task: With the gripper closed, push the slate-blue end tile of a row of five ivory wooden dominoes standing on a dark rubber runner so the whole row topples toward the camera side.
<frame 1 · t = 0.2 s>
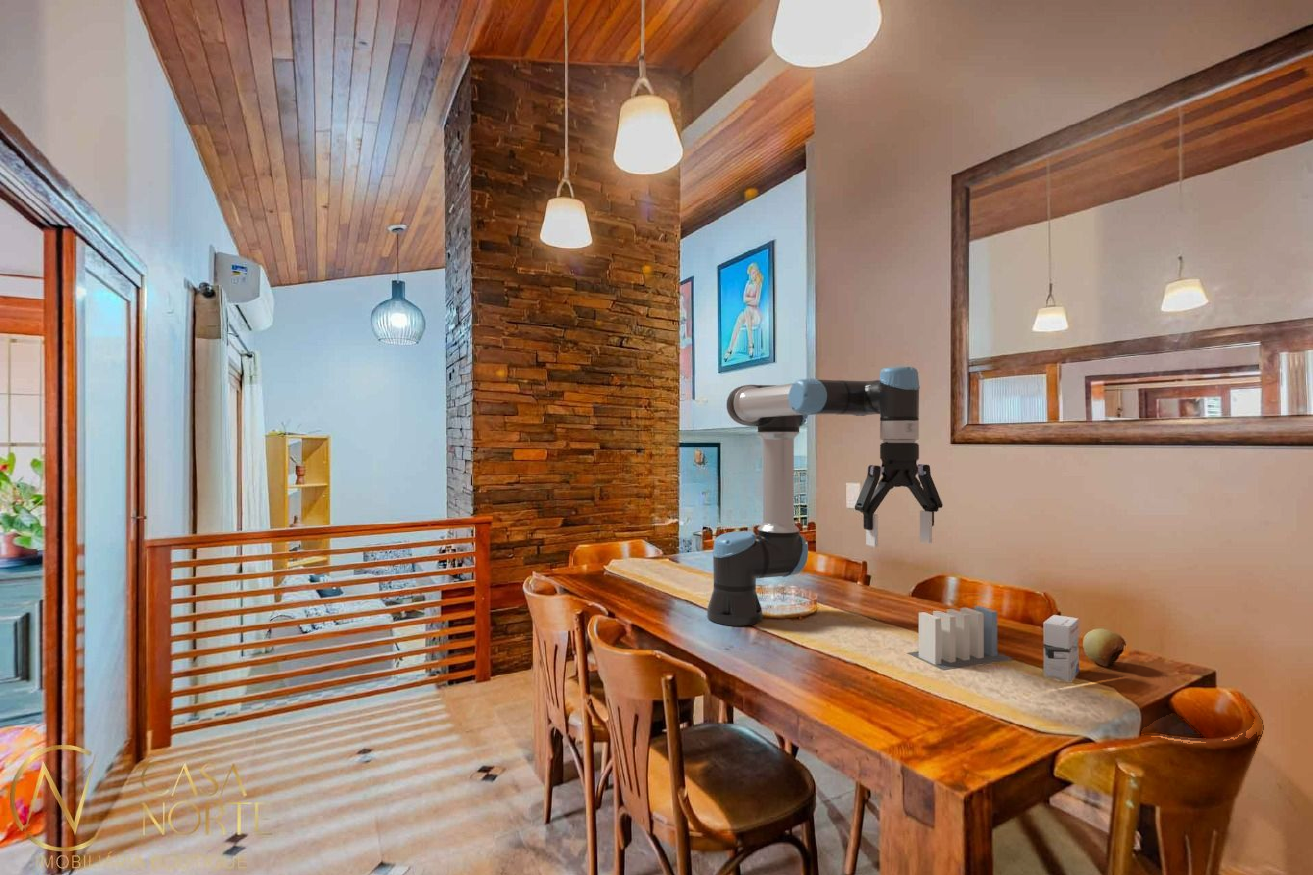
hand: (899, 544, 127), 28 cm above the table, fingers open, 13 cm apart
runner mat: (959, 657, 139), on the table
domino 4: (944, 658, 137), resting on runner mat
domino 1: (985, 652, 141), resting on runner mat
domino 3: (958, 656, 138), resting on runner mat
domino 2: (971, 654, 140), resting on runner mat
fruit: (1103, 667, 134), on the table
ink box: (1061, 676, 128), on the table
domino 5: (929, 660, 136), resting on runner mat
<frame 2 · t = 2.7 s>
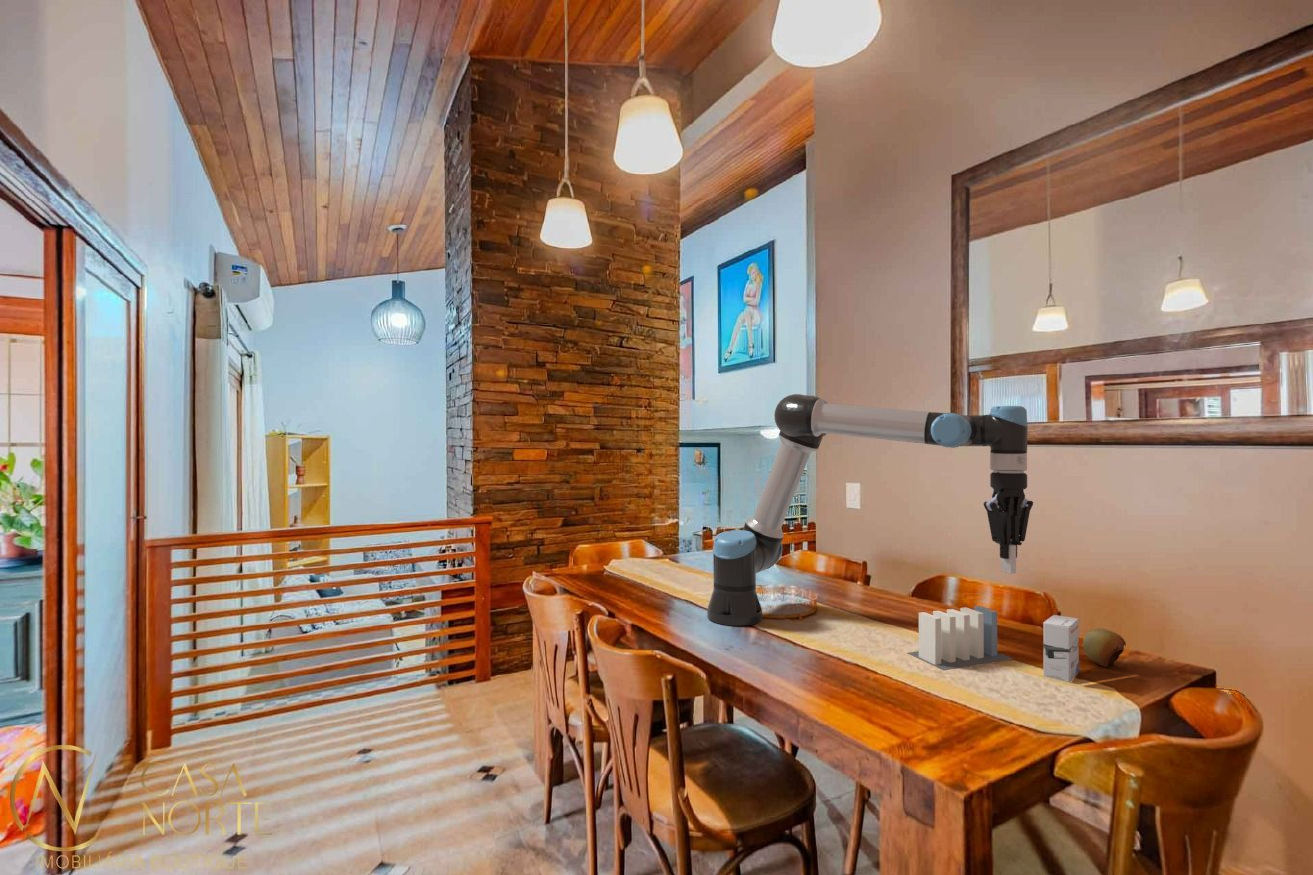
hand: (1008, 572, 143), 18 cm above the table, fingers closed
nothing on the table moved.
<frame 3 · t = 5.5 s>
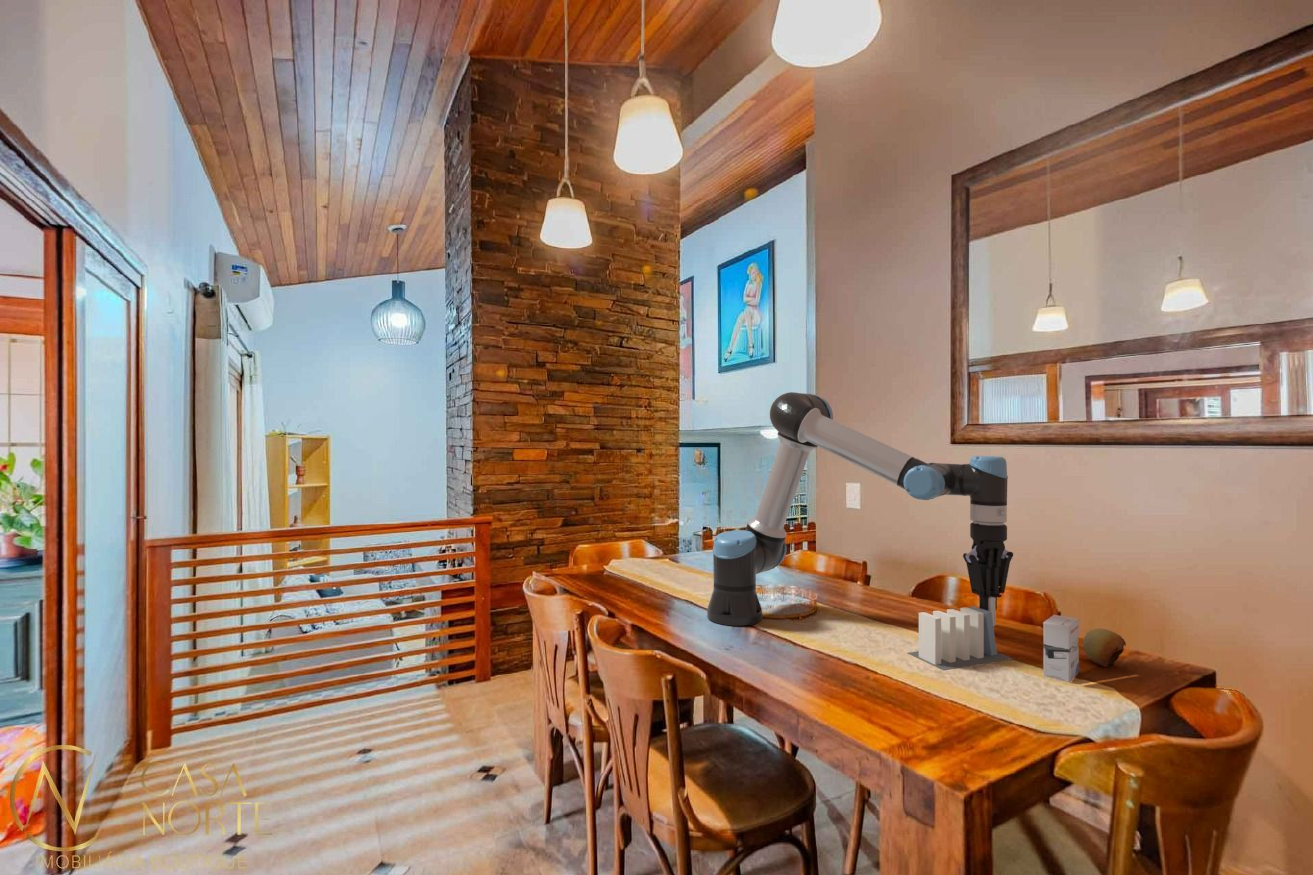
hand: (988, 624, 141), 7 cm above the table, fingers closed
domino 1: (985, 651, 141), point 1 cm above the table, tilted 10°, touching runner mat
everything else where it was.
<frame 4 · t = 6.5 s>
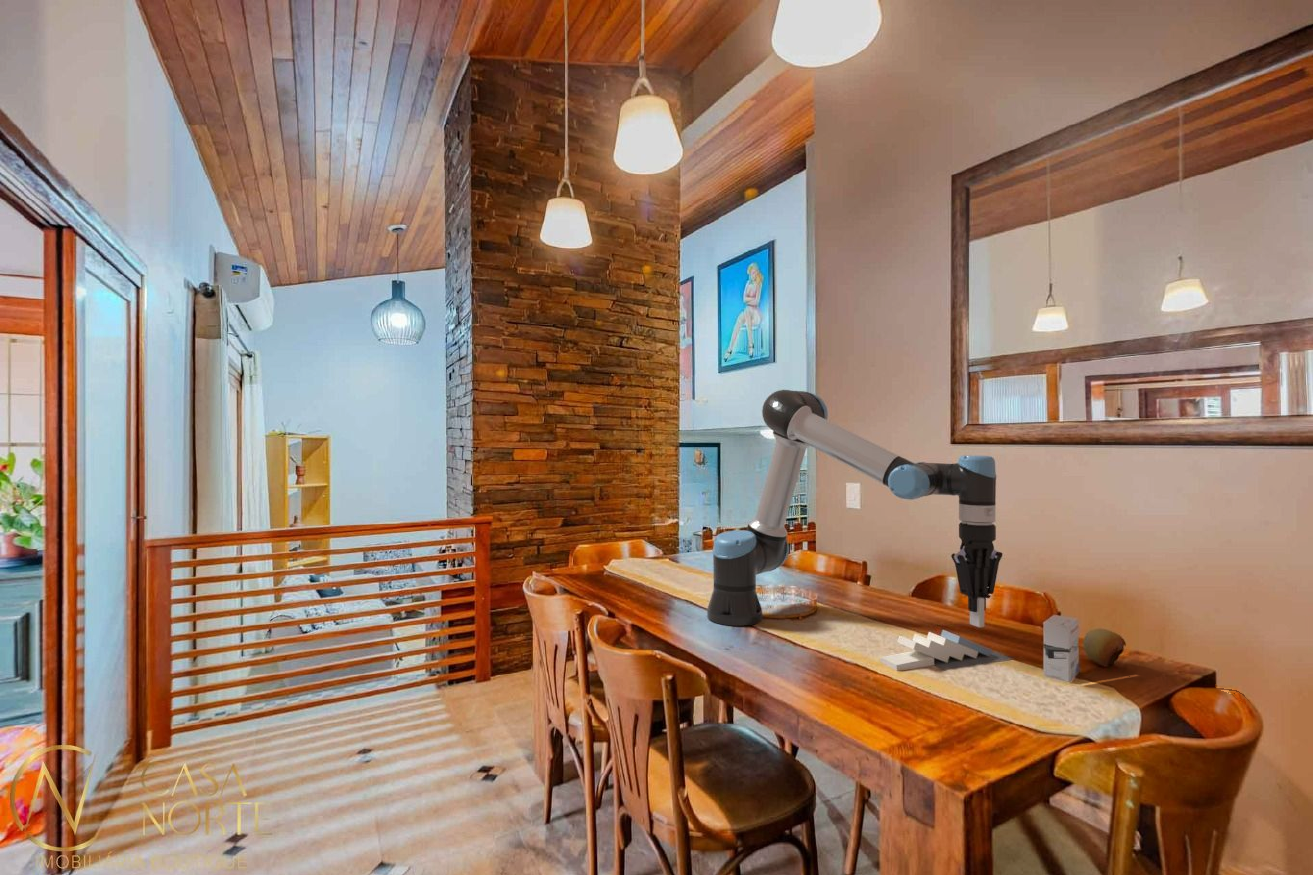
hand: (977, 625, 140), 7 cm above the table, fingers closed
domino 4: (939, 655, 137), point 1 cm above the table, tilted 67°, touching domino 3, domino 5
domino 1: (981, 649, 141), point 1 cm above the table, tilted 67°, touching domino 2
domino 3: (954, 653, 138), point 1 cm above the table, tilted 67°, touching domino 2, domino 4, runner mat
domino 2: (968, 651, 139), point 1 cm above the table, tilted 67°, touching domino 1, domino 3, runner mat
domino 5: (925, 657, 135), point 1 cm above the table, tilted 92°, touching domino 4, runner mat
everything else where it was.
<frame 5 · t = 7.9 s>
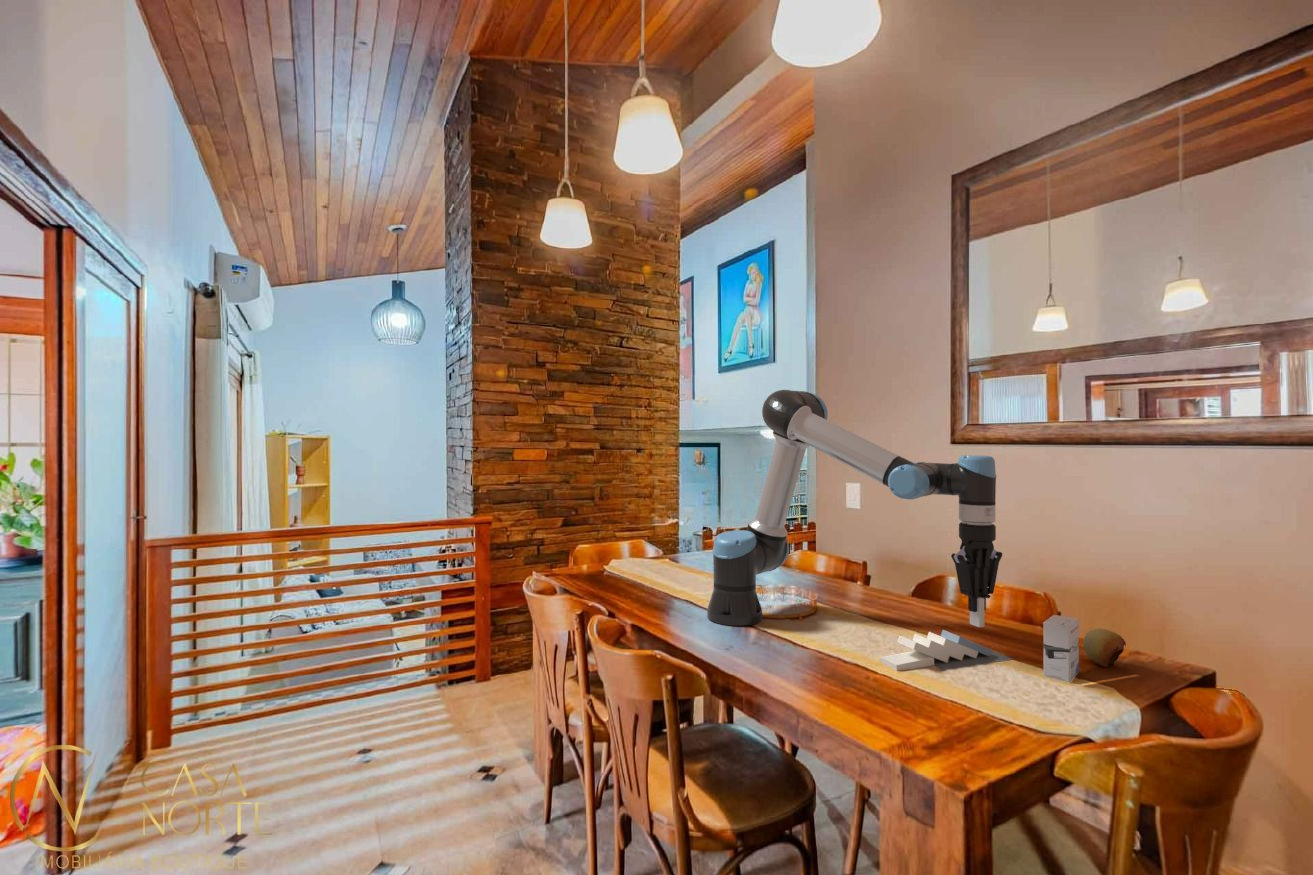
hand: (977, 625, 140), 7 cm above the table, fingers closed
nothing on the table moved.
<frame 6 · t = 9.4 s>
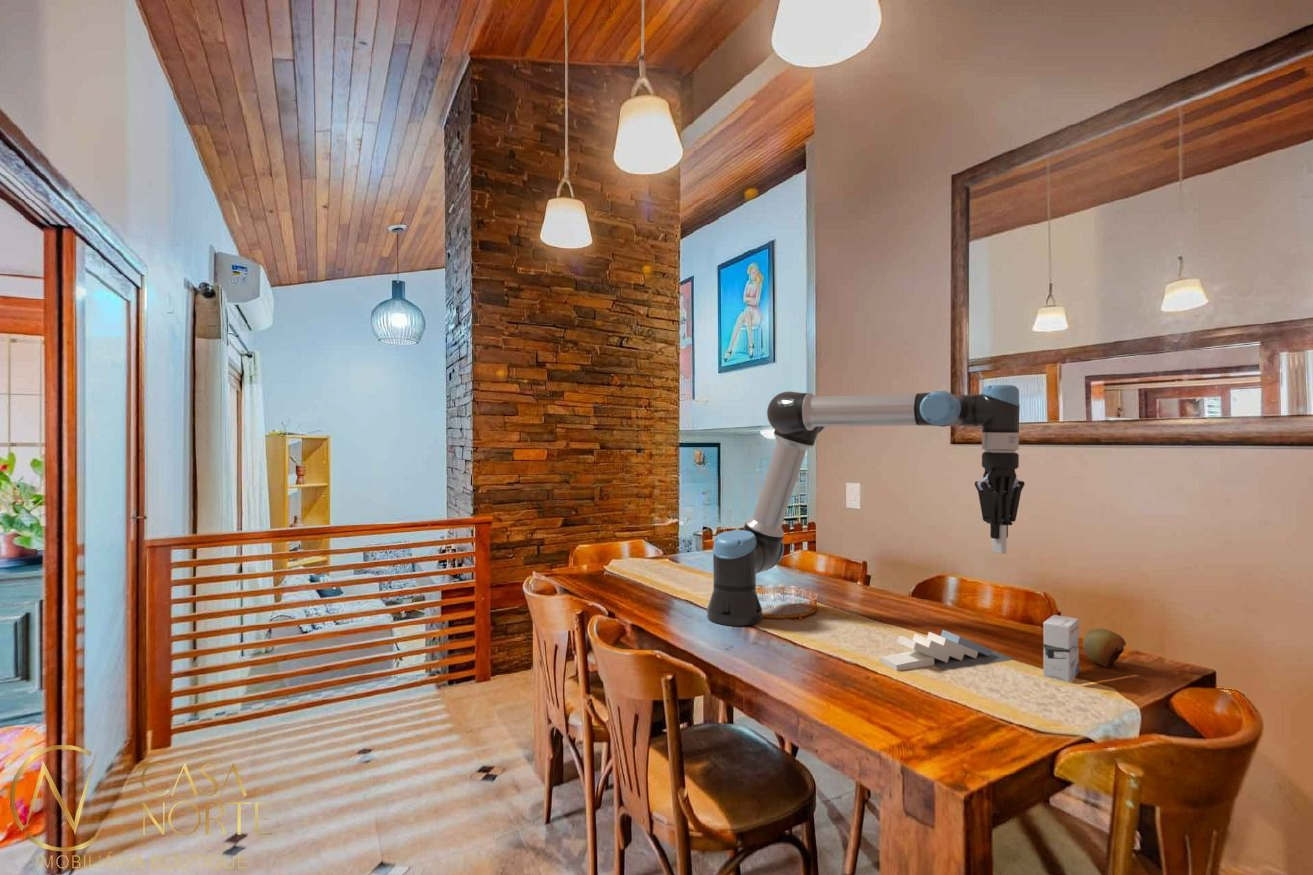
hand: (998, 552, 143), 23 cm above the table, fingers closed
nothing on the table moved.
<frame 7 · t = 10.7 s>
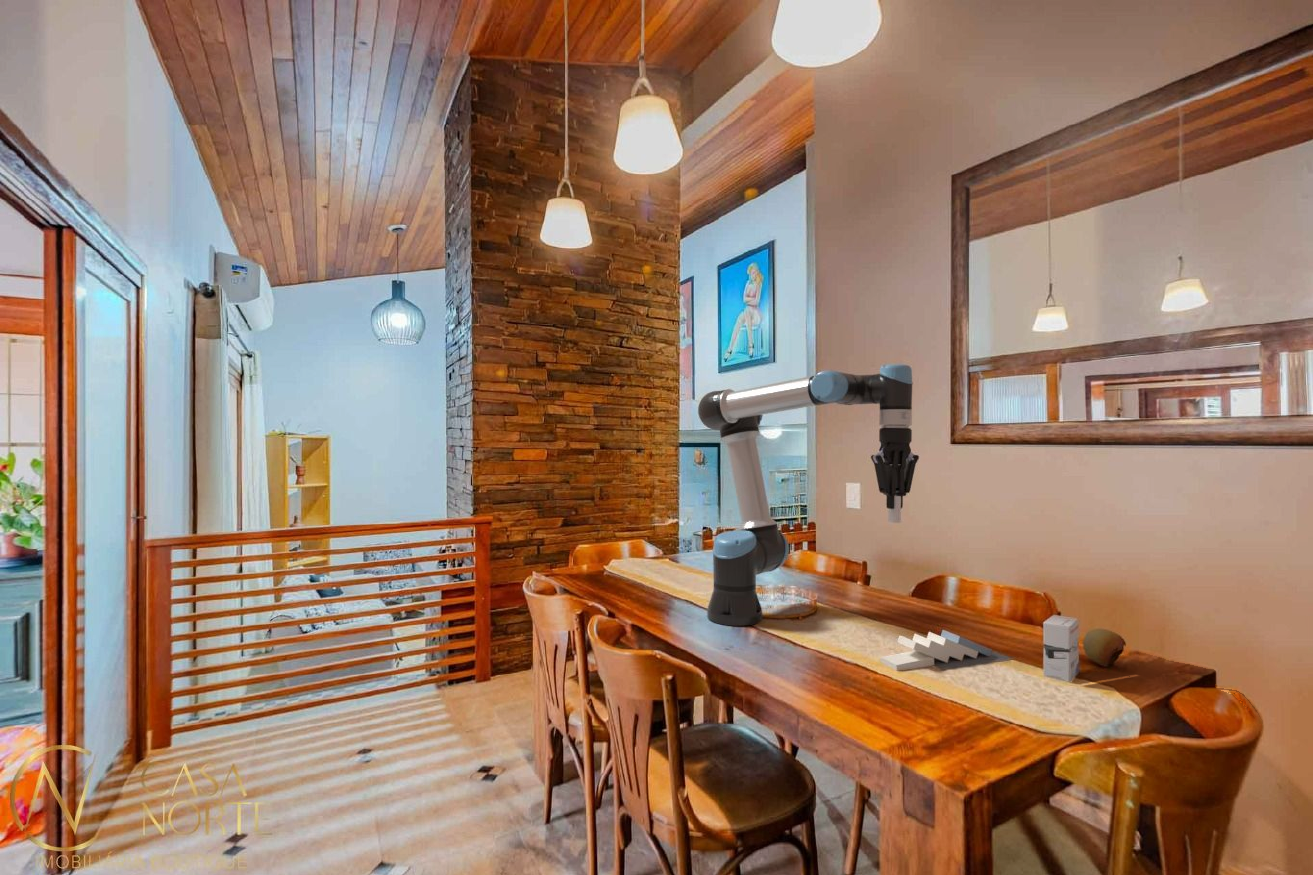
hand: (894, 521, 152), 29 cm above the table, fingers closed
nothing on the table moved.
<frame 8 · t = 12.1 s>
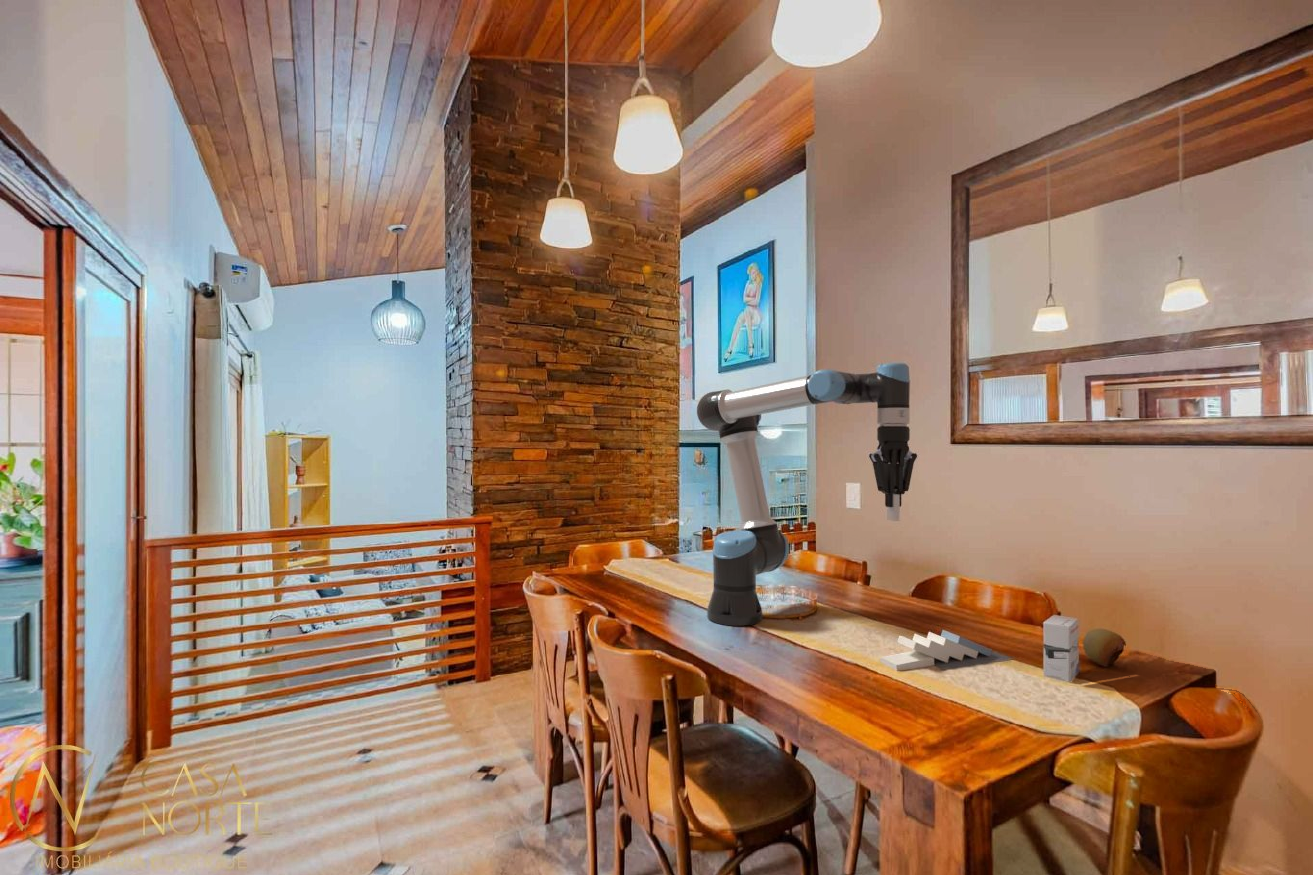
hand: (893, 520, 152), 29 cm above the table, fingers closed
nothing on the table moved.
at the end: domino 5 tilted 92°; domino 1 tilted 67° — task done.
